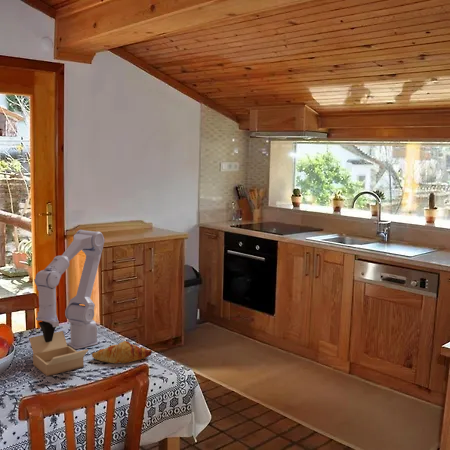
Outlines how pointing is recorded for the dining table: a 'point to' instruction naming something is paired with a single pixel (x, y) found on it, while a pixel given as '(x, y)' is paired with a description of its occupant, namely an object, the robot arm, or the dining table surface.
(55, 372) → the carton
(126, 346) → the croissant
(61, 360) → the flap
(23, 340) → the dining table surface
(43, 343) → the flap
